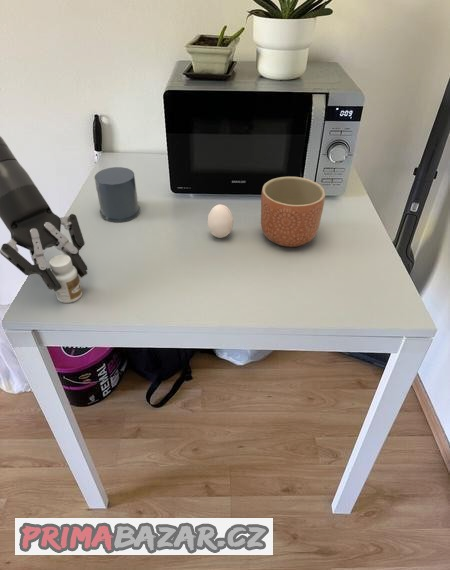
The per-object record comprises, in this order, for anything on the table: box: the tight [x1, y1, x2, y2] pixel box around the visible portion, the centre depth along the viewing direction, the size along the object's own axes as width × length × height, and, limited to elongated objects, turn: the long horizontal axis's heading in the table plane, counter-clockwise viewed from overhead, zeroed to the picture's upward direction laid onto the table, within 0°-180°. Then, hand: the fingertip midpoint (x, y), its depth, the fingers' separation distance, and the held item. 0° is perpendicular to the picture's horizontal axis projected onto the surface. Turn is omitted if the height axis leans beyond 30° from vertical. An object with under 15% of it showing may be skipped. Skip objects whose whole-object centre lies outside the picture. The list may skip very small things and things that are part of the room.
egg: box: [207, 204, 234, 239], centre depth 91 cm, size 5×5×7 cm
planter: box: [260, 176, 326, 248], centre depth 90 cm, size 12×12×11 cm
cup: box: [94, 166, 141, 224], centre depth 98 cm, size 9×9×9 cm
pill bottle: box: [48, 254, 83, 304], centre depth 76 cm, size 4×4×8 cm
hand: (71, 281), depth 75 cm, fingers closed on pill bottle, 4 cm apart
